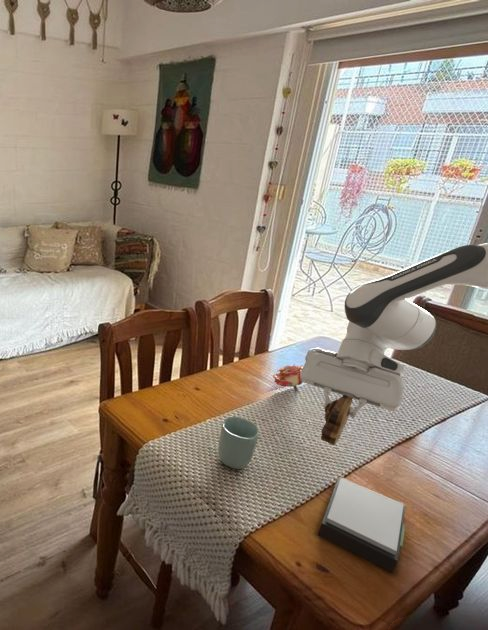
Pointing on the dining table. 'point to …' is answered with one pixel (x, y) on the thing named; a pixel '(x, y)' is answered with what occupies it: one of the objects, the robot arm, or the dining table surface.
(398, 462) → the dining table surface
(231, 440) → the cup
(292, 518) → the dining table surface
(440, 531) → the dining table surface
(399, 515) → the kitchen scale
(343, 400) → the wooden carving
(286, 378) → the flower
